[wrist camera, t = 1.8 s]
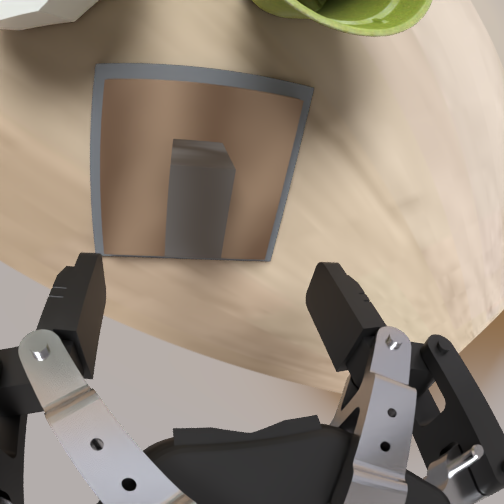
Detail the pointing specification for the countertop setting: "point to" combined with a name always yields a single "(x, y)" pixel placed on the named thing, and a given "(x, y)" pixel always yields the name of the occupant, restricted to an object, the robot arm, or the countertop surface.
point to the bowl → (40, 12)
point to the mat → (188, 75)
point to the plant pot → (353, 14)
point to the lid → (192, 167)
